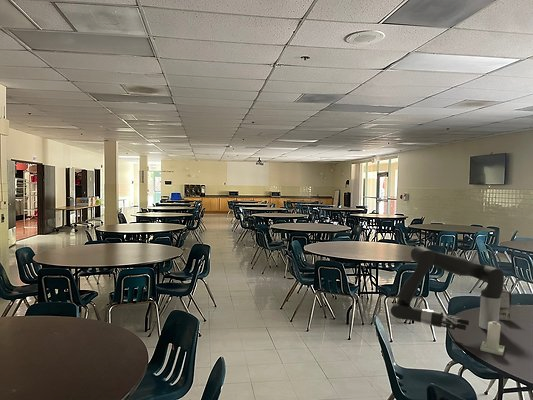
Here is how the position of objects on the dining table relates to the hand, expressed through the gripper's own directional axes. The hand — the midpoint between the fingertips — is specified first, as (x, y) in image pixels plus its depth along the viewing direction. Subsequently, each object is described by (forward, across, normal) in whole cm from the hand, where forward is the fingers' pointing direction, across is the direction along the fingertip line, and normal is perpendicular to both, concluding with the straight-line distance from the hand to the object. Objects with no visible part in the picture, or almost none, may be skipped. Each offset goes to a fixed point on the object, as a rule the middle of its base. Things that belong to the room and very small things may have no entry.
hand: (467, 325), depth 192 cm
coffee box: (+10, +58, +9) cm, 60 cm away
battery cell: (+11, 0, +8) cm, 14 cm away
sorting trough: (+11, 0, +9) cm, 14 cm away
